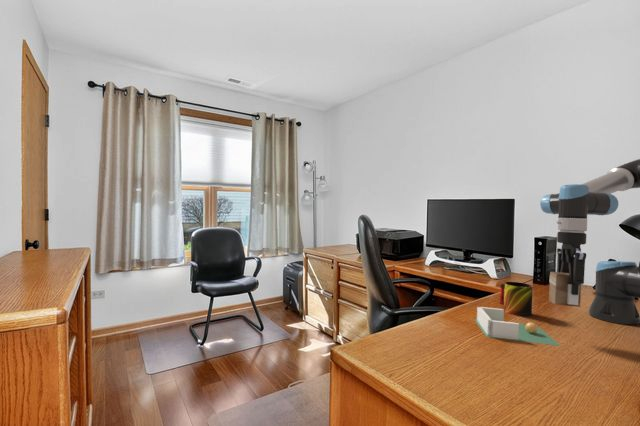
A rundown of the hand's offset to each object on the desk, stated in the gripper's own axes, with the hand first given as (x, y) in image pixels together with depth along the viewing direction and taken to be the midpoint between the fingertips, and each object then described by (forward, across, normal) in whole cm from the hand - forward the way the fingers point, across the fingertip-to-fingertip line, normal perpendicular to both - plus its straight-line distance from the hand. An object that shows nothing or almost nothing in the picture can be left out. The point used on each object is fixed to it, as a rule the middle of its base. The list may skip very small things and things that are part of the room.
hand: (568, 301), depth 105 cm
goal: (+12, 0, -20) cm, 24 cm away
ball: (+10, 0, -10) cm, 14 cm away
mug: (+12, -25, -9) cm, 29 cm away
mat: (+12, 0, -16) cm, 20 cm away
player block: (+1, 0, -1) cm, 1 cm away
